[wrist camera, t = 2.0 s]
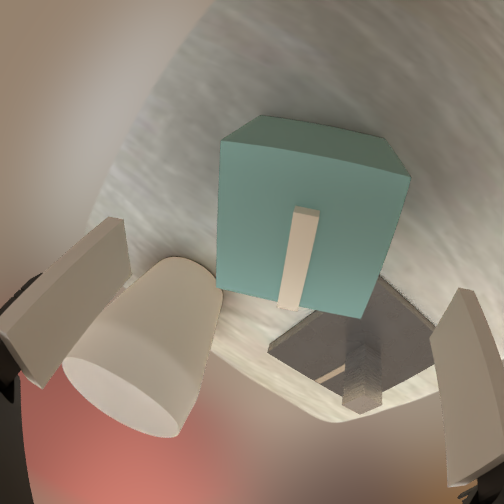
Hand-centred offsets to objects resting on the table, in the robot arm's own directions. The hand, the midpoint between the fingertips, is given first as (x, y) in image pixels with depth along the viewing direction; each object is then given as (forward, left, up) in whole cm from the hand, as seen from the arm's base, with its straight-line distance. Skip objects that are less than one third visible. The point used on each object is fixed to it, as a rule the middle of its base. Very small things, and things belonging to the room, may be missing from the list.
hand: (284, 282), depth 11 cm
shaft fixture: (+8, +13, -10) cm, 18 cm away
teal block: (0, 0, -10) cm, 10 cm away
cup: (+14, -2, -10) cm, 17 cm away
